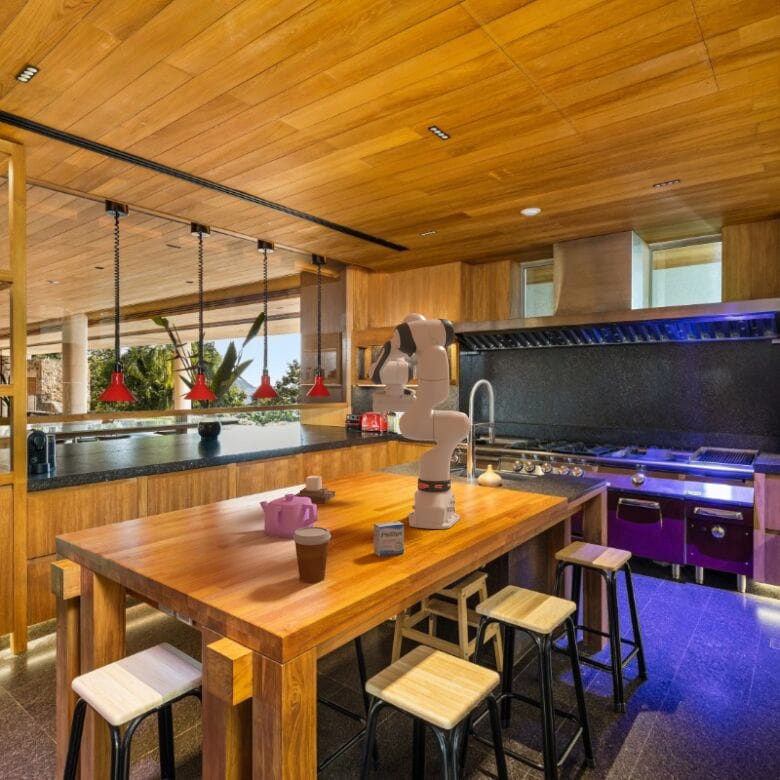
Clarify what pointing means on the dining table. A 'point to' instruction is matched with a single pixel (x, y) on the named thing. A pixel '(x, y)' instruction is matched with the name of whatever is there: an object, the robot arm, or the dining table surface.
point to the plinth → (319, 499)
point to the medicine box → (388, 538)
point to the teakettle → (288, 515)
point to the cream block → (314, 483)
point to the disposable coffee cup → (312, 552)
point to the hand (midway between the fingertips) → (395, 422)
